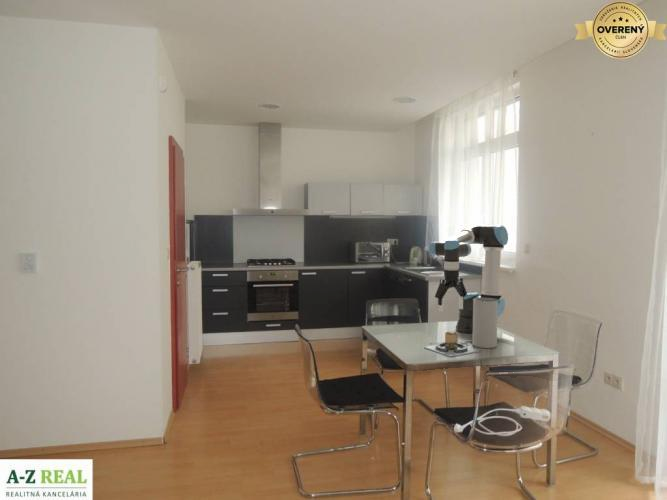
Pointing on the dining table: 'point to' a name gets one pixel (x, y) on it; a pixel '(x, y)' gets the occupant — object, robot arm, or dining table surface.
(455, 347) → the piston
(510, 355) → the dining table surface
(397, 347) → the dining table surface
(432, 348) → the ring plate
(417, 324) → the dining table surface
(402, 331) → the dining table surface
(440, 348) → the piston ring
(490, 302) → the cylinder vase
